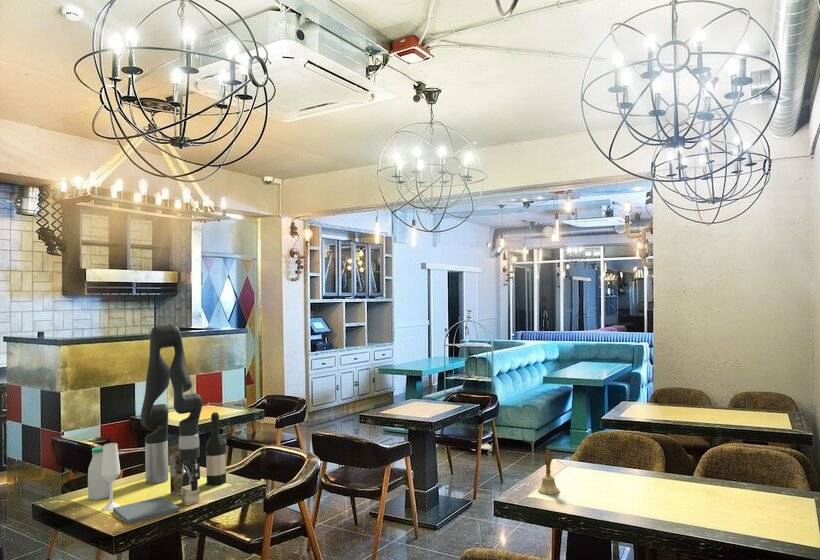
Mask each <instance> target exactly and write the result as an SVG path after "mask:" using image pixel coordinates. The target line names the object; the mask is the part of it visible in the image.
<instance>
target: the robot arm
mask: <svg viewBox="0 0 820 560" xmlns="http://www.w3.org/2000/svg"><path fill="white" fill-rule="evenodd" d="M172 347H173V349H174V356H173V359H172V361H171V364H170V366H169V365H168V363H167V362H166V361H165V359H164V358H163V357H162V355H161V350H162V349H166V348H172ZM187 367H188V366H187V363H186V357H185V350H184V344H183V339H182V334H181V330H180V328H179V326H178V325H176V324H166V325H165V324H164V325H156V326H154V327H152V329H151V331H150V335H149V358H148V367H147V372H146V380H145V391H144V397H143V398H144V399H143V403H142V406H141V411H140V413H141V414H140V424H141V425H142V427H144V428H150V427H151V428H152V427H157V426H158V427H157V428H156V429H155V430H154V431H153V432H151V433H148V434H147V435H146V436H145V437H144V445H145V447H144V449H145V450H144V452H145V453H144V454H145V456H144V457H145V460H144V461H145V483H146V484H148V485H149V484H150V485H151V484H152V485H153V484H161V483H164V482H167V481H168V480H169V446H168V444H169V442H168V441H169V439H168V437H169V432H168V431H169V430H168V428H169V408H168V406H167V405H166V404H165V403H160V404H155V402H156V401H157V400H158V399H159V398H160V396H162V394H163V393H164V392H165V391H166V390H167V388H168V387H169V384H170V382H171V386H172V389H173V390H172V391H173V409H174V411H175V412H176V413H177V414H179V415H182V414H183V415H184V414H189V415H188V416H187V417H185V418H184V419H182V420H181V419H180V421H179V423H178V430H179V431H178V432H179V433H178V434H179V437H178V452H179V459H180V474H182V477H183V486H188V485H189V476H190V478H191V490H192V491H195V490H197V489H198V488H197V480H198V481H199V480H200V479H201V470H200V469H201V467H200V463H198V462H197V464H196V461H195V460H196V459H197V460H198V459H199V458H200V454H201V453H200V436H199V422H200V416H201V413H202V409H203V403H204V402H203V397H202V396H201V395H200V394H198V393H190V394H184V393H186V392H188V391H190V390H191V388H192V387H193V384H192V380H191V377H190V374H189V370H188V368H187Z"/></svg>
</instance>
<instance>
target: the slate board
mask: <svg viewBox="0 0 820 560" xmlns="http://www.w3.org/2000/svg"><path fill="white" fill-rule="evenodd" d="M177 511H178V512H180V506H178V505H176V504H174V503H173V502H172V501H170V500H169V499H166V498H165V497H164V496H158V497H154V498H150V499H145V500H141V501H137V502H132V503H128V504H124V505H121V506H119V507H115V508H113V510H112V513H113V514H115V515H116V516H117V515H118V516H117V517H119V518H120V519H121V520H122V519H123V520H122V521H123V522H125V523H126V524H127V523H128V524H127V525H131V524H135V523H138V522H142V521H147V520H151V519H155V518H160V517H162V516H165V515H170V514H173V513H177Z"/></svg>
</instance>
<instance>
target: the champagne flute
mask: <svg viewBox="0 0 820 560" xmlns="http://www.w3.org/2000/svg"><path fill="white" fill-rule="evenodd" d="M102 447H103V458H102V469H101V476H102V478H103V479H104V480H106V481H107V482H109V497H108V498H109V499H108V500H109V502H108V503H107V504H106V505H104V506H103V507H101V510H102V511H105V510H108V511H113V508H115V507H119V506H120V504H119V503H116V502H114V488H113V486H114V485H113V482H114V481H116V480H117V479H118V478H119V476H120V474H121V466H120V458H119V457H120V456H119V449H118V448H119V447H118V443H116V442H110V443H105V444H103V446H102Z"/></svg>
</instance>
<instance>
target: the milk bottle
mask: <svg viewBox="0 0 820 560" xmlns="http://www.w3.org/2000/svg"><path fill="white" fill-rule="evenodd" d="M91 454H92V458H91V459H90V460H91V461H90V463H89V466H88V468H87V469H88V470H87V493H88V494H87V496H88V500H90V501H100V500H103V499H107V498H109V482H107V481H106V480H104V479H103V478H102V476H101V469H102V458H103V446H97V447H93V448H92V449H91Z"/></svg>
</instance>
